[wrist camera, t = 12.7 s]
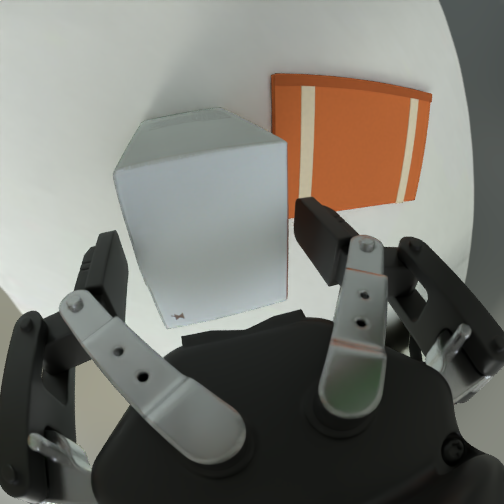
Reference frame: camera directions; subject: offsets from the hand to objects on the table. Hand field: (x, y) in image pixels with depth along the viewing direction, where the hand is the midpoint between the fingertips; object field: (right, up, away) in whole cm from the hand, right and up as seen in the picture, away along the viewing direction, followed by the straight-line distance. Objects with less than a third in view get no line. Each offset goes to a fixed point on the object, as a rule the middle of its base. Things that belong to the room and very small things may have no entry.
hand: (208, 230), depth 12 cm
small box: (-3, +6, +9) cm, 12 cm away
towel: (+12, +9, +12) cm, 20 cm away
